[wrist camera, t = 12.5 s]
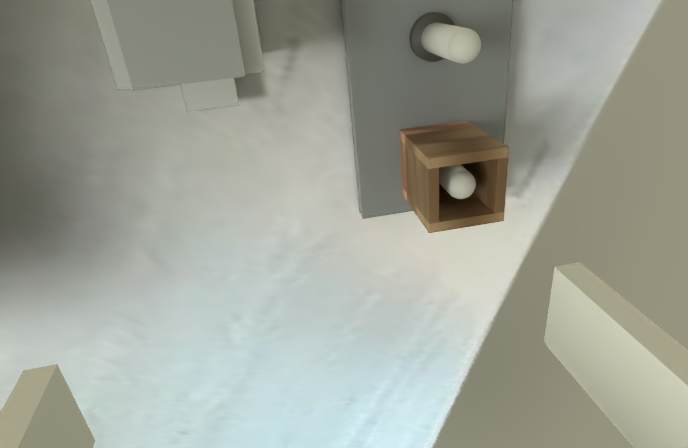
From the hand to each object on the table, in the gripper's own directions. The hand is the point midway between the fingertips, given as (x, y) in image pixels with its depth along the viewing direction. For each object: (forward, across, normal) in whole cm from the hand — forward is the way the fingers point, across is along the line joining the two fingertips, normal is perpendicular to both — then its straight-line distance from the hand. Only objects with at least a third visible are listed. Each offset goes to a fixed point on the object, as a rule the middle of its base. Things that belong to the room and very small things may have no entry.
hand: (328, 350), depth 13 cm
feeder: (+26, -4, +5) cm, 27 cm away
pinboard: (+26, +12, 0) cm, 29 cm away
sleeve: (+24, +12, -5) cm, 28 cm away
